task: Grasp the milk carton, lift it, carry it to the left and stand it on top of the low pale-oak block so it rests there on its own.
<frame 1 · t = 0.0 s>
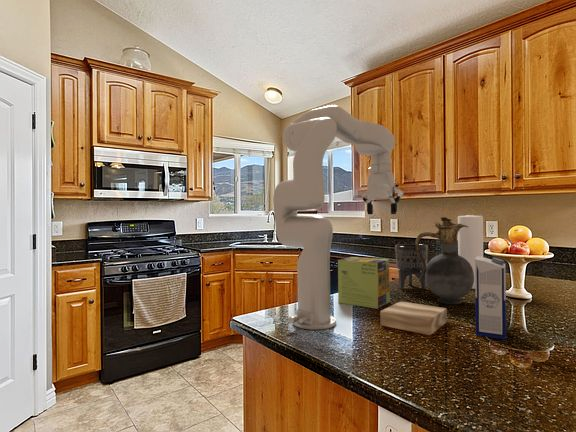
hand: (381, 214, 141), 31 cm above the countertop, fingers open, 9 cm apart
protein box: (364, 303, 130), on the countertop
pitcher: (444, 301, 129), on the countertop
oak block: (413, 323, 105), on the countertop
cylinder container: (470, 286, 153), on the countertop
milk carton: (491, 334, 96), on the countertop
planter: (411, 288, 153), on the countertop
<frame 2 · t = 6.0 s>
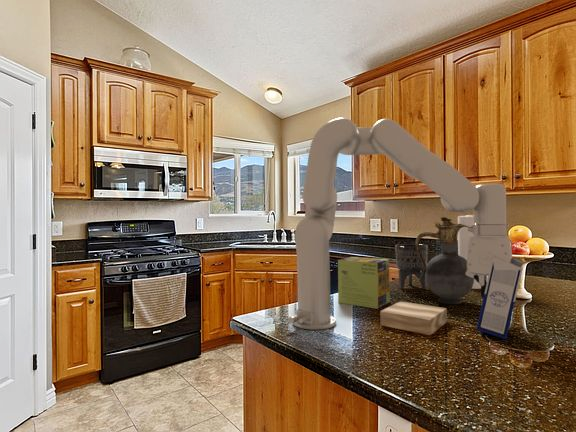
hand: (489, 300, 96), 9 cm above the countertop, fingers closed on milk carton
milk carton: (491, 331, 96), on the countertop, touching gripper
everything else where it was.
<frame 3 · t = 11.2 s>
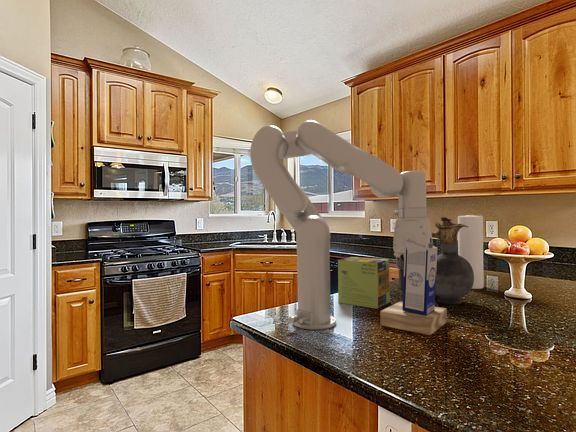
hand: (413, 278, 105), 13 cm above the countertop, fingers closed on milk carton
milk carton: (418, 311, 103), point 4 cm above the countertop, touching gripper, oak block
everything else where it was.
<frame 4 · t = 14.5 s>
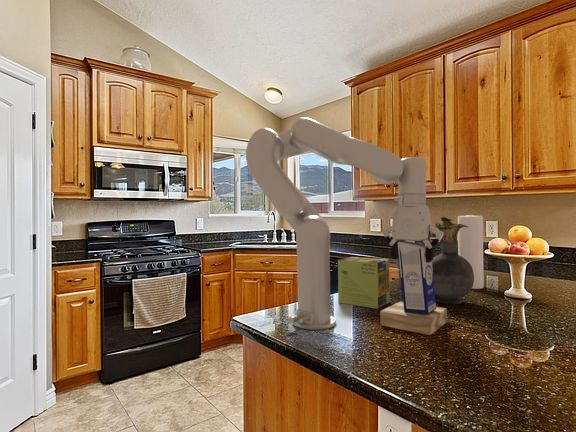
hand: (411, 260, 105), 18 cm above the countertop, fingers open, 9 cm apart
milk carton: (420, 311, 103), point 4 cm above the countertop, touching oak block
everything else where it was.
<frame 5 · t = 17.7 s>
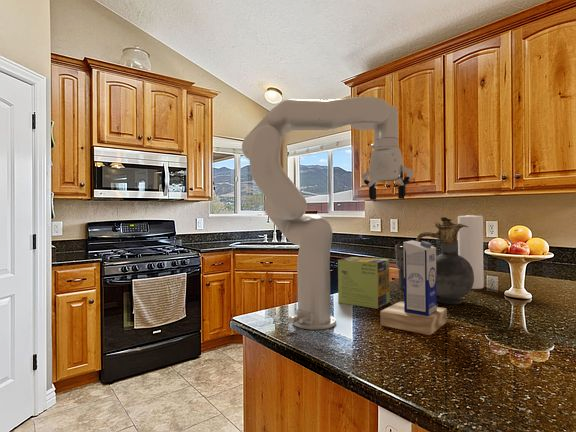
hand: (386, 199, 117), 36 cm above the countertop, fingers open, 9 cm apart
at the end: milk carton inside the target area on the oak block (2.3 cm from its centre), point 3.8 cm above the oak block's base; milk carton tilted 0°; milk carton touching oak block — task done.
